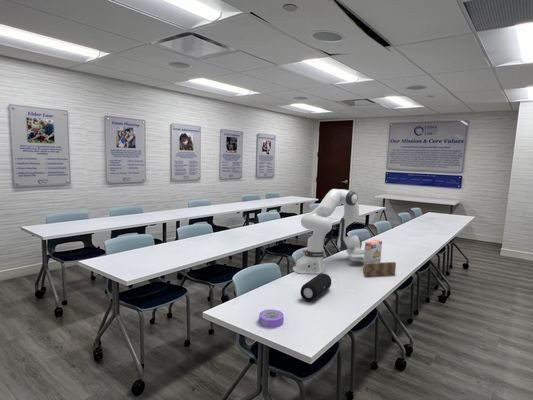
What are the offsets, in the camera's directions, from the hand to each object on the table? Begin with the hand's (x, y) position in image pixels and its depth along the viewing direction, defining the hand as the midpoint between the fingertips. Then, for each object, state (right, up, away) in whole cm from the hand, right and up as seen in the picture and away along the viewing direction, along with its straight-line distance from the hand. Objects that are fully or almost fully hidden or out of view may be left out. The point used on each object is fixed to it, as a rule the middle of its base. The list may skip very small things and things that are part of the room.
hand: (368, 260), depth 247 cm
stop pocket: (+3, -8, -13) cm, 15 cm away
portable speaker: (-45, -11, -50) cm, 69 cm away
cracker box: (+2, -6, -3) cm, 7 cm away
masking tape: (-72, -15, -84) cm, 112 cm away
